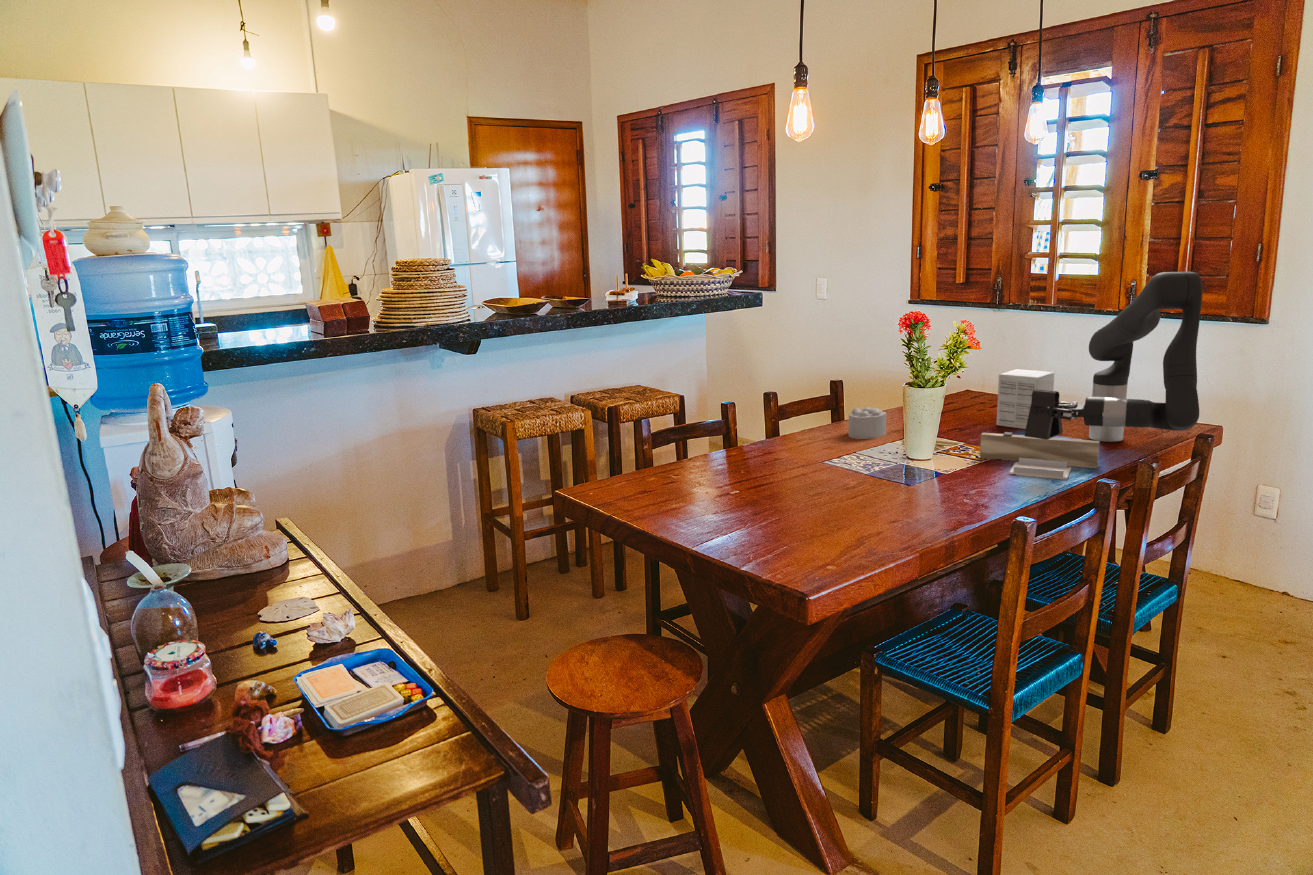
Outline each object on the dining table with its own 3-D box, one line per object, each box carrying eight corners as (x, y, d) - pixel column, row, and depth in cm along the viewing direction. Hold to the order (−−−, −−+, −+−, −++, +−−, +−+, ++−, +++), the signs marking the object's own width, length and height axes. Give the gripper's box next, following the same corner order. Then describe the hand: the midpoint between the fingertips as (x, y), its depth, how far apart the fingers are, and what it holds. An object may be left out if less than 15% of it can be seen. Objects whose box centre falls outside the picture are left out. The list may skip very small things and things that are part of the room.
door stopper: (1040, 430, 224) (1042, 387, 222) (1062, 433, 220) (1065, 389, 217) (1024, 436, 219) (1026, 392, 216) (1046, 439, 214) (1048, 394, 212)
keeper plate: (1015, 464, 230) (1015, 456, 230) (1071, 469, 223) (1071, 461, 222) (1009, 474, 221) (1009, 466, 221) (1067, 479, 214) (1067, 471, 213)
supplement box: (1013, 418, 285) (1015, 368, 281) (1052, 423, 276) (1055, 371, 272) (995, 425, 277) (997, 373, 273) (1034, 430, 267) (1038, 377, 263)
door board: (981, 455, 240) (982, 430, 238) (1097, 465, 225) (1099, 438, 223) (979, 458, 238) (981, 432, 236) (1097, 468, 223) (1099, 441, 221)
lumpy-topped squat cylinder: (890, 433, 273) (890, 407, 271) (867, 441, 264) (868, 414, 262) (863, 429, 280) (863, 404, 278) (840, 436, 272) (840, 410, 270)
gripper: (1108, 392, 216) (1036, 390, 225) (1105, 402, 204) (1029, 399, 213) (1106, 420, 217) (1035, 417, 226) (1103, 431, 206) (1027, 427, 215)
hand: (1032, 408), depth 219 cm, fingers closed on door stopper, 3 cm apart
